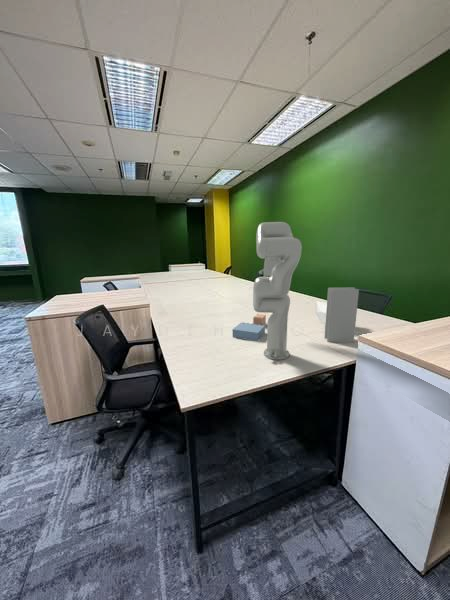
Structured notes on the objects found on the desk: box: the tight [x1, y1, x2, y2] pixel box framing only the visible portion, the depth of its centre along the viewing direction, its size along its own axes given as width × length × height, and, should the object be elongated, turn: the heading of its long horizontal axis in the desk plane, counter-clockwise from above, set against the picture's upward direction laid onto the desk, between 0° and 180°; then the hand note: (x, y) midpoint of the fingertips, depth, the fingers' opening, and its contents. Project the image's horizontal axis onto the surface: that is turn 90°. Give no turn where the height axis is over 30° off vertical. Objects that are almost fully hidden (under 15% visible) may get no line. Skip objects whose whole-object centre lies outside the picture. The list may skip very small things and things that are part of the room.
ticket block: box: [232, 322, 266, 342], centre depth 148 cm, size 15×16×5 cm
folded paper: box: [315, 300, 327, 325], centre depth 160 cm, size 17×24×17 cm
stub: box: [252, 313, 267, 325], centre depth 166 cm, size 9×6×6 cm, turn 154°
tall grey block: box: [323, 287, 360, 343], centre depth 135 cm, size 14×6×30 cm, turn 84°
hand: (272, 285), depth 144 cm, fingers open, 9 cm apart
